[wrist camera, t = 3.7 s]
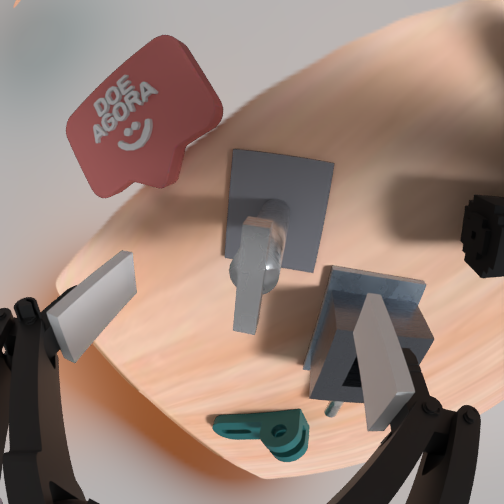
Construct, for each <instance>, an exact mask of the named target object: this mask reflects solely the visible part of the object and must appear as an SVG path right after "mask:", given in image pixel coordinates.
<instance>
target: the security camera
mask: <svg viewBox="0 0 504 504" xmlns="http://www.w3.org/2000/svg"><path fill="white" fill-rule="evenodd" d="M460 241H461V242H462V243H463V250H462V251H463V252H464V253H465V259H464V261H465V262H466V263H467V264H468V265H469V266H470V267H471V268H472V269H473V270H474V271H475V272H476V273H477V274H478V275H479V276H480V277H481V278H489V277H502V276H504V197H495V196H485V195H474V199H473V200H469V206H465V211H464V220H463V227H462V234H461V240H460Z"/></svg>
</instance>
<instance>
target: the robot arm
mask: <svg viewBox="0 0 504 504" xmlns="http://www.w3.org/2000/svg"><path fill="white" fill-rule="evenodd" d="M136 293H137V290H136V281H135V272H134V262H133V252H128V251H123V250H122V251H120V252H119V253H118V254H116V255H115V256H114V257H113V258H111V259H110V260H109V261H107V262H106V263H105V264H104V265H102V266H101V267H100V268H98V269H97V270H96V271H95V272H93V273H92V274H91V275H90V276H88V277H87V278H86V279H85V280H84V281H82V282H81V283H80V284H79V285H78V286H77V285H76V286H73V287H71V288H69V289H67V290H66V291H65V292H64V293H63V294H62V295H60V296H59V297H58V298H57V300H54V301H53V302H52V303H51V304H50V305H49V306H47V307H46V308H45V309H44V310H43V311H42V312H41V313H40V310H39V307H38V304H37V301H36V300H35V299H34V298H32V297H26V298H23V299H21V300H19V301H18V302H17V303H16V304H15V305H14V310H15V312H16V315H17V318H15V317H13V315H12V313H11V310H9V309H8V308H1V309H0V478H1V471H2V463H3V471H4V479H5V486H6V492H7V498H8V503H9V504H99V503H97V502H95V501H93V500H91V499H89V500H88V501H86V499H85V497H84V494H83V492H82V490H81V488H80V486H79V485H78V483H77V481H76V479H75V477H74V473H73V469H72V465H71V461H70V456H69V451H68V446H67V440H66V435H65V428H64V422H63V414H62V405H61V396H60V383H59V365H58V364H59V363H58V361H59V360H58V355H57V352H58V351H59V350H61V352H62V354H63V356H64V358H66V359H67V360H69V361H71V362H74V363H76V362H77V360H78V359H79V358H80V357H81V356H82V354H83V353H84V352H85V351H86V350H87V348H88V347H89V346H90V345H91V344H92V343H93V341H94V340H95V339H96V338H97V337H98V336H99V334H100V333H101V332H102V331H103V330H104V329H105V327H106V326H107V325H108V324H109V323H110V322H111V321H112V320H113V318H114V317H115V316H116V315H117V314H118V313H119V312H120V311H121V309H122V308H123V307H124V306H125V305H126V304H127V303H128V302H129V301H130V300H131V298H132V297H133V296H134V295H135V294H136ZM353 336H354V341H355V347H356V352H357V358H358V364H359V370H360V376H361V383H362V390H363V397H364V405H365V413H366V421H367V430H368V431H384V430H385V429H386V428H387V427H388V425H389V424H390V426H391V432H390V433H389V434H388V435H387V436H386V437H385V439H384V440H383V441H382V442H381V445H380V446H379V447H378V448H377V450H376V451H375V452H374V453H373V455H372V456H371V457H370V458H369V460H368V461H367V462H366V463H365V464H364V466H363V467H362V468H361V469H360V470H359V471H358V472H357V473H356V474H355V475H354V477H353V478H352V479H351V480H350V481H349V482H348V483H347V484H346V485H345V486H344V487H343V488H342V490H340V491H339V492H338V493H337V494H336V495H335V496H334V497H333V498H332V499H331V500H330V501H329V502H328V503H327V504H388V503H389V502H390V501H391V500H392V498H393V497H394V496H395V494H396V493H397V492H398V490H399V489H400V487H401V486H402V485H403V483H404V482H405V480H406V478H407V477H408V476H409V474H410V472H411V471H412V469H413V468H414V466H415V465H416V463H417V461H418V460H419V458H420V456H421V454H422V453H423V455H422V459H421V462H420V465H419V468H418V472H417V474H416V477H415V480H414V483H413V486H412V489H411V491H410V494H409V497H408V499H407V501H406V504H469V500H470V496H471V491H472V486H473V481H474V476H475V470H476V464H477V457H478V449H479V438H480V425H481V419H480V415H479V413H478V411H477V410H476V409H475V408H474V407H472V406H470V405H464V406H462V407H461V408H460V409H459V410H458V411H457V412H455V411H450V410H446V409H443V408H442V405H441V403H440V402H439V401H438V400H437V399H436V398H434V397H432V396H430V395H429V392H428V389H427V386H426V383H425V380H424V377H423V374H422V373H421V369H420V366H419V363H418V360H417V358H416V356H415V354H414V353H413V352H412V351H411V350H410V348H401V346H400V343H399V341H398V338H397V335H396V332H395V330H394V327H393V324H392V322H391V319H390V317H389V314H388V311H387V309H386V306H385V304H384V301H383V299H382V297H381V295H380V294H373V293H367V296H366V299H365V302H364V305H363V308H362V310H361V313H360V316H359V318H358V321H357V324H356V326H355V329H354V331H353ZM3 346H4V348H5V350H6V351H5V353H4V354H3V352H2V348H3ZM8 425H9V439H10V451H9V452H6V453H4V448H5V441H6V435H7V430H8ZM0 504H3V502H2V500H1V499H0Z"/></svg>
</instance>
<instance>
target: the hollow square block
mask: <svg viewBox="0 0 504 504" xmlns="http://www.w3.org/2000/svg"><path fill="white" fill-rule="evenodd" d="M425 287H426V283H425V282H424V281H422V280H416V279H410V278H404V277H398V276H392V275H386V274H380V273H374V272H369V271H363V270H357V269H351V268H345V267H339V266H333V265H332V268H331V272H330V276H329V280H328V284H327V288H326V291H325V295H324V299H323V302H322V306H321V309H320V313H319V316H318V319H317V323H316V326H315V329H314V333H313V336H312V339H311V342H310V345H309V349H308V352H307V355H306V358H305V361H304V364H303V369H304V370H310V392H309V399H318V400H328V401H329V403H328V405H327V407H326V409H325V411H324V412H325V415H326V416H328V417H334V416H336V414H337V413H338V411H339V409H340V408H341V406H342V405H343V403H344V402H354V403H364V397H363V390H362V383H361V376H360V370H359V364H358V358H357V352H356V347H355V341H354V336H353V331H354V329H355V326H356V324H357V321H358V318H359V316H360V313H361V310H362V308H363V305H364V302H365V299H366V296H367V293H373V294H380V295H381V297H382V299H383V301H384V304H385V306H386V309H387V311H388V314H389V317H390V319H391V322H392V324H393V327H394V330H395V332H396V335H397V338H398V341H399V343H400V346H401V348H410V350H411V351H412V352H413V353H414V354H415V356H416V358H417V360H418V363H419V364H420V363H421V361H422V360H423V358H424V356H425V355H426V353H427V351H428V350H429V348H430V346H431V344H432V343H433V341H434V337H433V335H432V333H431V331H430V329H429V327H428V325H427V323H426V321H425V319H424V317H423V315H422V313H421V311H420V309H419V307H418V304H419V302H420V299H421V297H422V295H423V292H424V290H425Z"/></svg>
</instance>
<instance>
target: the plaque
mask: <svg viewBox="0 0 504 504" xmlns="http://www.w3.org/2000/svg"><path fill="white" fill-rule="evenodd" d="M222 116H223V106H222V103H221V101H220V99H219V97H218V96H217V94H216V92H215V91H214V89H213V87H212V86H211V84H210V82H209V81H208V79H207V78H206V76H205V74H204V73H203V71H202V69H201V68H200V66H199V65H198V63H197V61H196V60H195V59H194V57H193V55H192V54H191V52H190V50H189V49H188V47H187V46H186V45H185V44H183V43H182V42H181V41H179V40H177V39H176V38H174V37H172V36H169V35H161V36H158V37H156V38H154V39H153V40H151V41H150V42H149V43H147V44H146V45H145V46H144V47H142V48H141V49H140V50H139V51H137V52H136V53H135V54H134V55H132V56H131V57H130V58H129V59H128V60H126V61H125V62H124V63H123V64H122V65H121V66H120V67H118V69H116V70H115V71H114V72H113V73H112V74H111V75H110V76H109V77H108V78H106V79H105V80H104V82H102V83H101V84H100V85H99V86H98V87H97V88H96V89H95V90H94V91H93V92H92V93H91V94H90V96H88V97H87V98H86V100H85V101H84V102H83V103H82V104H81V105H80V106H79V107H78V108H77V110H75V112H74V113H73V114H72V115H71V116H70V118H69V119H68V122H67V127H66V134H67V138H68V140H69V142H70V145H71V147H72V149H73V151H74V154H75V156H76V158H77V160H78V162H79V164H80V166H81V168H82V171H83V173H84V175H85V177H86V179H87V181H88V183H89V184H90V186H91V188H92V190H93V191H94V193H95V194H96V195H97V196H99V197H101V198H108V197H111V196H113V195H115V194H118V193H120V192H122V191H123V190H125V189H126V188H127V187H129V186H130V185H131V184H133V183H134V182H137V183H141V184H145V185H149V186H152V187H156V188H164V187H166V186H168V185H170V184H173V183H175V182H176V181H177V180H178V177H179V173H180V168H181V164H182V160H183V156H184V152H185V148H186V146H187V145H188V144H190V143H191V142H193V141H194V140H196V139H197V138H199V137H201V136H202V135H204V134H205V133H207V132H209V131H210V130H212V129H214V128H215V127H217V125H218V124H219V123H220V121H221V119H222Z"/></svg>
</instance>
